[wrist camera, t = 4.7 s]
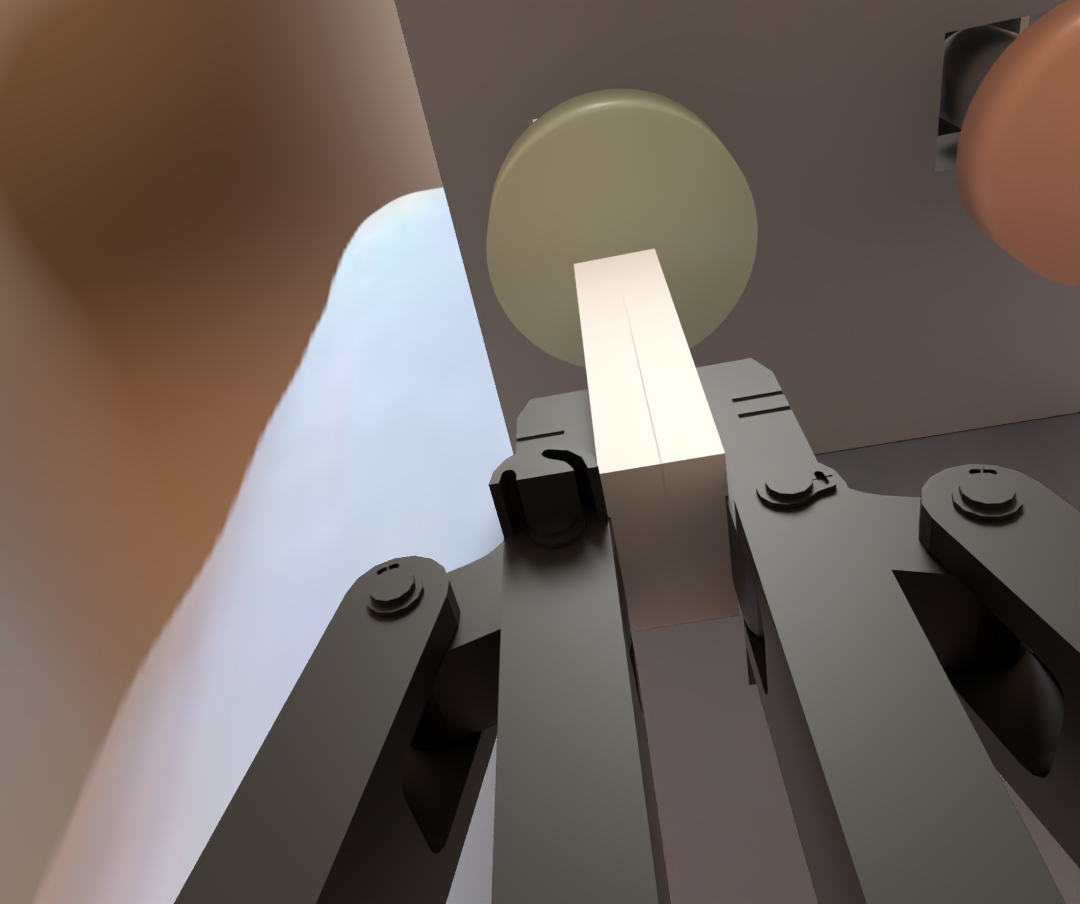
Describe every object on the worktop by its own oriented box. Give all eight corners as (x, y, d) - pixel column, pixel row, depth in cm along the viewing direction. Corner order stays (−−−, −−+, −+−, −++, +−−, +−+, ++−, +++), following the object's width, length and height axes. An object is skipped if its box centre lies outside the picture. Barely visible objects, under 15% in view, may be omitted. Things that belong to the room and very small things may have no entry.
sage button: (521, 259, 27) (479, 65, 24) (703, 224, 27) (685, 21, 23) (517, 389, 20) (456, 142, 17) (763, 346, 20) (750, 80, 16)
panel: (526, 453, 32) (368, -175, 21) (1061, 364, 30) (1198, -386, 19) (525, 500, 30) (346, -183, 19) (1108, 407, 28) (1296, -424, 17)
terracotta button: (861, 194, 26) (866, -19, 23) (1060, 156, 26) (1095, -69, 22) (981, 308, 19) (1013, 25, 16) (1258, 260, 19) (1353, -46, 15)
